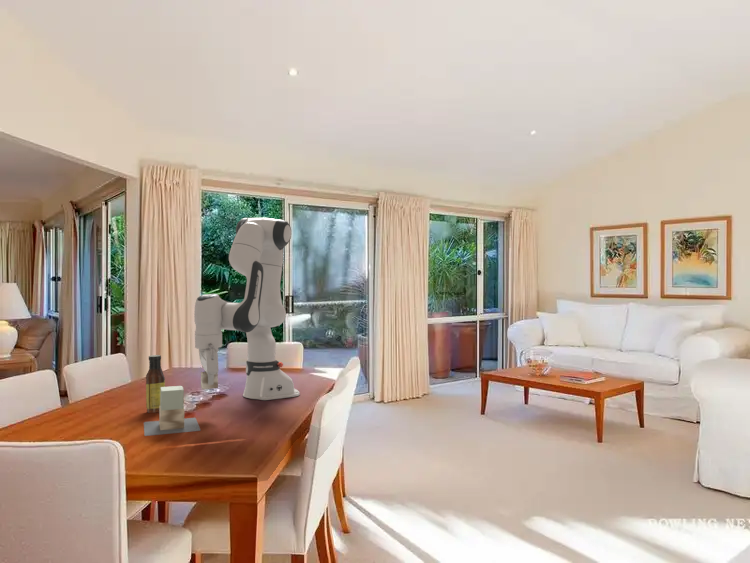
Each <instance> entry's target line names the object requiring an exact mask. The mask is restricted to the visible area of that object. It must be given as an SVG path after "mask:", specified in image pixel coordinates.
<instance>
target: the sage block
mask: <svg viewBox="0 0 750 563" xmlns="http://www.w3.org/2000/svg"><path fill="white" fill-rule="evenodd" d="M184 396H185V389H184V387H183V385H176V386H175V385H173V386H165V387H161V396H160V406H161V411H163V410H175V409H184V410H185V407H184V406H185V405H184V404H185V403H184V401H185V399H184Z"/></svg>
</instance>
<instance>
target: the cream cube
mask: <svg viewBox="0 0 750 563" xmlns="http://www.w3.org/2000/svg"><path fill="white" fill-rule="evenodd" d="M218 373H219V372H218ZM218 373H217V374H214V384H213V385H208V375H207V373H206V372H205V371H201V372H200V387H201V389H202V390H203V391H204V390H211V389H212V390H214V389H218V388H219V374H218Z"/></svg>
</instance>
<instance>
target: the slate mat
mask: <svg viewBox="0 0 750 563" xmlns="http://www.w3.org/2000/svg"><path fill="white" fill-rule="evenodd" d="M143 431H144V433H143V434H144V437H148V436H149V437H150V436H159V435H168V434H169V435H170V434H179V433H188V432H189V433H190V432H199V431H201V428H200V424H199V423H198V420H197V418H196V417H189V418H188V417H187V418H185V417H184V428H179V429H169V430H160V426H159V420H151V421H144V422H143Z"/></svg>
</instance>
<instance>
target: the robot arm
mask: <svg viewBox="0 0 750 563" xmlns="http://www.w3.org/2000/svg"><path fill="white" fill-rule="evenodd" d="M291 238H292V227H291V224H290V223H289V222H288V221H287V220H283V219H281V218H280V219H277V218H276V219H275V218H270V217H243V218H241V219H240V220H239V221H238V222H237V223H236V227H235V236H234V239H233V241H232V245H231V248H230V250H229V254H228V261H229V265H230V266H231V267H232V269H233V270H234V271H236V272H237V273H239V274H241V275H242V276H245V278H246V286H245V291H244V298H243V299H242V301H240V302H231V301H227V300H224V299H222V298H221V297H220V295H219V294H218V293H208V294H206V293H205V294H202V295H199V296H198V297H197V298H196V299H195V303H194V313H193V314H194V324H195V331H194V348H195V349H198V353H199V362H200V365H201V366H202V368H203V370H204V372H206V373H207V375H208V385H213V384H214V374H217V373H219V354H218V353H219V352H220V351H219V348H222V347H223V330H226V331H239V332H244V333H245V334H246V338H247V339H246V340H247V360H246V364H245V373H246V374H245V375H246V379H245V384H244V385H245V386H244V390H243V394H242V396H243V397H244V398H247V399H251V400H261V401H270V400H280V399H285V398H293V397H294V398H295V397H299V396H300V391H299V390H298V389H297V388H295V386H294V382H293V378H292V377H290V376H289V375H288V374H287V373H286V372H284V371H283V370H281V368H283V367H284V363H283V362H282V361H278V360H276V348H277V347H276V344H277V343H276V340H275V337H274V336H273V333H272V329H271V328H275V327H279V326H280V325H282V324H283V323H284V322H285V319H286V316H287V313H286V308H285V307H284V304H283V301H282V294H281V281H282V274H283V273H282V271H283V265H284V262H283V261H284V248H285V247H286V246H287V245H288V244H289V243H290V241H291Z"/></svg>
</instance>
